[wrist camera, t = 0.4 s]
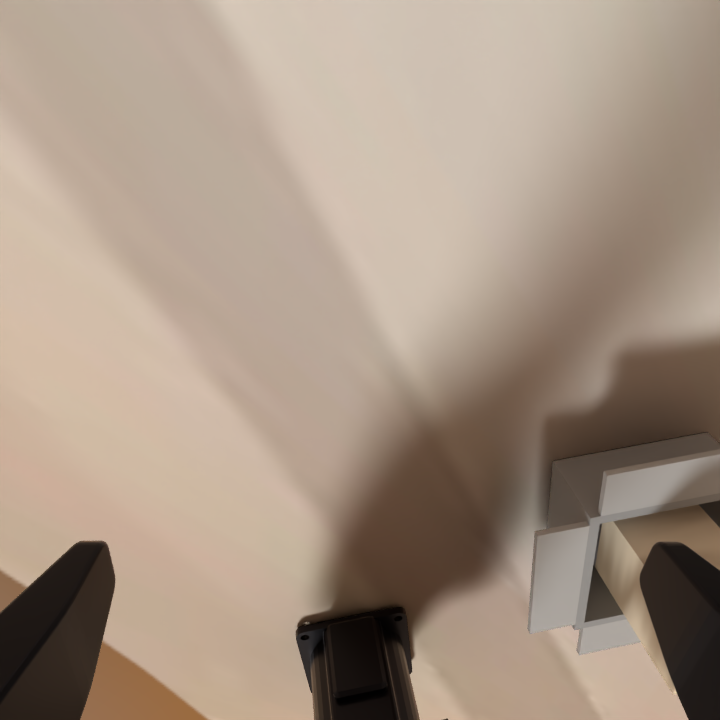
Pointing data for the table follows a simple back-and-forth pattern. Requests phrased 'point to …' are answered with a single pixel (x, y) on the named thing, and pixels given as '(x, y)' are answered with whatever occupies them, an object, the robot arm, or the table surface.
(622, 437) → the table surface
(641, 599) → the box
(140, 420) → the table surface
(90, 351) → the table surface
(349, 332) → the table surface
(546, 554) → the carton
